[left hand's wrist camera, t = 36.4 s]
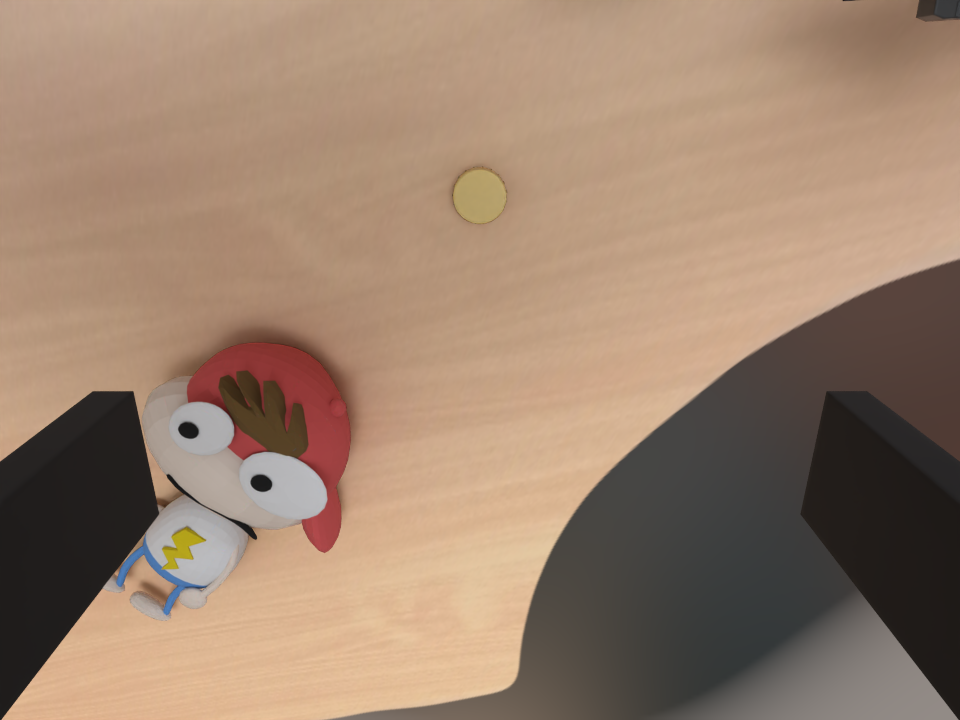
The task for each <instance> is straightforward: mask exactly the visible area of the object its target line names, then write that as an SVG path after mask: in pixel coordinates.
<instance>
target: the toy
mask: <svg viewBox="0 0 960 720" xmlns="http://www.w3.org/2000/svg"><path fill="white" fill-rule="evenodd" d="M346 408H347V407H346V403H345V402H344V401H343V400H342V398H341V396H340V394H339V391H338V390H337V388H336V386H335V385H334V383H333V381H332V379H331V378H330V376H329V375H328V373H327V372H326V370H325V369H324V368H323V366H322V365H321V364H320V363H319V362H318V361H317V360H315V359H314V358H313V357H311V356H310V355H309V354H307V353H305V352H303V351H301V350H299V349H297V348H294V347H290V346H286V345H280V344H271V343H245V344H239V345H235V346H232V347H229V348H227V349H224V350H223V351H221V352H219V353H217V354H216V355H214V356H213V357H212V358H211V359H210V360H208V361H207V362H206V363H205V364H204V365H203V366H201V367H200V368H199V370H198V371H197V372H196V373H195V374H194V375H193V376H179V377H176V378H173V379H171V380H169V381H167V382H165V383H164V384H162V385H160V386H158V387H157V388H155V389H154V390H153V391H152V392H151V394H150V395H149V396H148V399H147V402H146V405H145V409H144V412H143V416H142V424H143V429H144V433H145V438H146V442H147V445H148V447H149V450H150V452H151V453H152V455H153V457H154V458H155V460H156V462H157V463H158V465H159V467H160V468H161V470H162V471H163V472H164V473H165V474H166V475H167V478H168V479H169V480H170V481H171V483H172V484H173V485H174V486H175V487H176V488H177V489H178V490H180V491H181V492H182V493H183V494H184V495H182V496H180V497H179V498H177V499H176V500H174V501H173V502H171V503H170V504H169V505H167V506H166V507H165V508H164V507H163V506H161V505H158V504H157V505H158V510H159V515H158V517H157V518H156V519H155V521H154V522H153V523H152V525H151V526H150V527H149V528H148V530H147V532H146V535H145V537H144V542H143V546H142V547H140V548H139V549H137V550H136V551H135V552H134V553H133V554H131V555H130V556H129V557H128V559H127V560H126V561H125V562H124V564H123V565H122V567H121V569H120V572H119V575H118V576H116V575H115V574H113V575H112V576H111V578H110V579H109V580H108V582H107V583H106V584H105V586H104V587H103V588H102V589H105V590H107V591H111V592H117V593H120V592H122V591H124V590H125V585H124V584H123V583H124V581H125V578H126V575H127V572H128V571H129V569H130V567H131V566H132V565H133V564H134V562H135V561H136V560H137V559H139V558H140V557H141V556H142V555H143V554H144V555H145V557H146V560H147V561H148V563H149V564H150V566H151V567H152V568H153V569H154V570H155V571H156V572H157V573H158V574H159V575H161V576H162V577H163V578H165V579H166V580H168V581H169V582H171V583H173V584H175V585H178V586H177V587H176V588H175V589H174V590H173V592H172V593H171V594H170V596H169V597H168V599H167V602H166V604H165V605H164V604H162V603H161V602H160V601H159V600H157V599H156V598H154V597H153V596H151V595H149V594H147V593H145V592H142V591H137V592H134V593H133V594H132V595H131V597H130V603H131V604H132V605H133V607H134V608H136V609H137V610H139V611H140V612H141V613H143V614H145V615H147V616H149V617H151V618H154V619H157V620H161V621H167V620H169V619H170V618H171V613H170V611H171V608H172V606H173V603H174V601H175V600H176V598H177V597H178V596H179V600H180V602H181V603H182V604H183V605H184V606H186V607H188V608H190V609H198V608H201V607H203V606H204V605H205V604H206V602H207V596H208V595H209V594H211V593H212V592H213V591H214V590H215V589H217V588H218V587H219V586H220V585H221V584H222V583H223V581H224V580H225V579H226V578H227V577H228V576H229V574H230V573H231V572H232V571H233V570H234V568H235V567H236V566H237V565H238V563H239V561H240V559H241V558H242V556H243V554H244V552H245V549H246V546H247V542H248V536H251V537H252V538H253V539H255V540H256V539H257V536H256V534H255V533H254V531H253V529H252V528H251V527H254V528H262V529H281V528H286V527H289V526H293V525H297V524H300V523H302V525H303V529H304V531H305V533H306V535H307V537H308V539H309V540H310V542H311V543H312V544H313V545H314V546H315V547H316V548H317V549H318V550H319V551H321V552H324V553H325V552H327V551H329V550H330V549H331V548H332V547H333V545H334V543H335V541H336V540H337V538H338V535H339V532H340V528H341V505H340V501H339V497H338V493H337V489H336V486H337V484H338V482H339V480H340V478H341V476H342V474H343V472H344V470H345V467H346V464H347V461H348V456H349V449H350V441H351V437H350V424H349V419H348V415H347V412H346ZM202 588H205V589H204V590H200V589H202Z"/></svg>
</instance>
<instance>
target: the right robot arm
mask: <svg viewBox="0 0 960 720" xmlns="http://www.w3.org/2000/svg"><path fill="white" fill-rule="evenodd" d="M843 1H853V0H843ZM916 18H919V19H921V20H923V21H942V20H959V19H960V0H919V5H918V10H917V16H916Z"/></svg>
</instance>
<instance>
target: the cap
mask: <svg viewBox="0 0 960 720" xmlns="http://www.w3.org/2000/svg"><path fill="white" fill-rule="evenodd" d="M454 187H455V188H454V193H453V195H452V196H453V201H454V205H455V208H456V210H457V212H458V213H459V214H460V215H461V216H462V217H463V218H464V219H465V220H467V221H469V222H471V223H475V224H484V223H488V222H491V221H493V220H494V219H496V218H497V217H498V216H499V215H500V214H501V212H502V211H503V209H504V207H505V204H506V193H507V191H506V190H505V186H504V181H502V180H501V178H500V177H499V174H498V175H497V174H496V173H495V172H494V171H492V169H491V170H490V169H487V168H483V167H477V168H475V167H473V168H472V169H469V170H468V171H465V172H464V173H463V174H462V175H461V176H459V178H458V180H457V182H456V184H455V185H454Z"/></svg>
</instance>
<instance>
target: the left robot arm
mask: <svg viewBox="0 0 960 720" xmlns="http://www.w3.org/2000/svg"><path fill="white" fill-rule="evenodd" d="M158 515H159V510H158V505H157V500H156V496H155V491H154V486H153V482H152V477H151V472H150V467H149V463H148V458H147V453H146V449H145V444H144V439H143V435H142V430H141V425H140V420H139V416H138V411H137V406H136V402H135V397H134V392H133V391H93V392H91V393H90V394H89V395H87V396H86V397H85V398H84V399H82V400H81V401H80V402H78V403H77V404H76V405H74V406H73V407H72V408H70V409H69V410H68V411H66V412H65V413H64V414H62V415H61V416H60V417H58V418H57V419H56V420H55V421H53V422H52V423H51V424H49V425H48V426H47V427H45V428H44V429H43V430H41V431H40V432H39V433H37V434H36V435H35V436H33V437H32V438H31V439H29V440H28V441H27V442H26V443H24V444H23V445H22V446H20V447H19V448H18V449H16V450H15V451H14V452H12V453H11V454H10V455H8V456H7V457H6V458H4V459H3V460H2V461H0V720H1V719H2V718H3V717H4V716H5V714H6V713H7V712H8V710H9V709H10V708H11V706H12V705H13V704H14V703H15V701H16V700H17V699H18V697H19V696H20V695H21V693H22V692H23V691H24V690H25V688H26V687H27V686H28V684H29V683H30V682H31V680H32V679H33V678H34V677H35V675H36V674H37V673H38V671H39V670H40V669H41V667H42V666H43V665H44V664H45V662H46V661H47V660H48V658H49V657H50V656H51V654H52V653H53V652H54V651H55V649H56V648H57V647H58V645H59V644H60V643H61V641H62V640H63V639H64V638H65V636H66V635H67V634H68V632H69V631H70V630H71V628H72V627H73V626H74V625H75V623H76V622H77V621H78V619H79V618H80V617H81V615H82V614H83V613H84V612H85V610H86V609H87V608H88V606H89V605H90V604H91V602H92V601H93V600H94V599H95V597H96V596H97V595H98V593H99V592H100V591H101V589H102V588H103V587H104V586H105V584H106V583H107V582H108V580H109V579H110V578H111V576H112V575H113V574H114V573H115V571H116V570H117V569H118V567H119V566H120V565H121V563H122V562H123V561H124V560H125V558H126V557H127V556H128V554H129V553H130V552H131V551H132V549H133V548H134V547H135V545H136V544H137V543H138V541H139V540H140V539H141V538H142V536H143V535H144V534H145V532H146V531H147V530H148V528H149V527H150V526H151V525H152V523H153V522H154V521H155V519H156V518H157V517H158ZM801 515H802V517H803V518H804V519H805V521H806V522H807V523H808V525H809V526H810V527H811V528H812V530H813V531H814V532H815V534H816V535H817V536H818V537H819V539H820V540H821V541H822V543H823V544H824V545H825V547H826V548H827V549H828V551H829V552H830V553H831V554H832V556H833V557H834V558H835V560H836V561H837V562H838V563H839V565H840V566H841V567H842V569H843V570H844V571H845V573H846V574H847V575H848V576H849V578H850V579H851V580H852V582H853V583H854V584H855V586H856V587H857V588H858V589H859V591H860V592H861V593H862V595H863V596H864V597H865V599H866V600H867V601H868V602H869V604H870V605H871V606H872V608H873V609H874V610H875V612H876V613H877V614H878V615H879V617H880V618H881V619H882V621H883V622H884V623H885V625H886V626H887V627H888V628H889V630H890V631H891V632H892V634H893V635H894V636H895V638H896V639H897V640H898V641H899V643H900V644H901V645H902V647H903V648H904V649H905V651H906V652H907V653H908V654H909V656H910V657H911V658H912V660H913V661H914V662H915V664H916V665H917V666H918V667H919V669H920V670H921V671H922V673H923V674H924V675H925V677H926V678H927V679H928V680H929V682H930V683H931V684H932V686H933V687H934V688H935V689H936V691H937V692H938V693H939V695H940V696H941V697H942V699H943V700H944V701H945V702H946V704H947V705H948V706H949V708H950V709H951V710H952V712H953V713H954V714H955V715H956V717H957V718H958V719H959V720H960V461H958V460H957V459H956V458H954V457H953V456H952V455H950V454H949V453H948V452H946V451H945V450H944V449H942V448H941V447H940V446H938V445H937V444H936V443H934V442H933V441H932V440H931V439H929V438H928V437H927V436H925V435H924V434H923V433H921V432H920V431H919V430H917V429H916V428H915V427H913V426H912V425H911V424H909V423H908V422H907V421H905V420H904V419H903V418H901V417H900V416H899V415H898V414H896V413H895V412H894V411H892V410H891V409H890V408H888V407H887V406H886V405H884V404H883V403H882V402H880V401H879V400H878V399H876V398H875V397H874V396H873V395H871V394H870V393H868V392H867V391H827V392H826V397H825V402H824V406H823V411H822V416H821V421H820V425H819V430H818V435H817V439H816V444H815V449H814V453H813V458H812V463H811V467H810V472H809V477H808V482H807V487H806V491H805V496H804V500H803V505H802V510H801Z"/></svg>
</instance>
